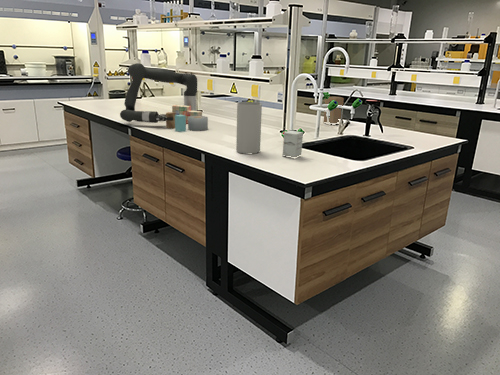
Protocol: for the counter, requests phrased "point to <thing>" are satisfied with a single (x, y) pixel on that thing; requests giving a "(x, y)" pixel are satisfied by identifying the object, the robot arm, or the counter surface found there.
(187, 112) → the stack of blocks
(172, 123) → the walnut block
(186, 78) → the robot arm
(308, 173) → the counter surface
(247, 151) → the cylinder vase
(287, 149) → the supplement box
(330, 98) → the block
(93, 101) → the counter surface
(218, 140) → the counter surface
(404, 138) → the counter surface
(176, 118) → the teal block
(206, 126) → the plinth
